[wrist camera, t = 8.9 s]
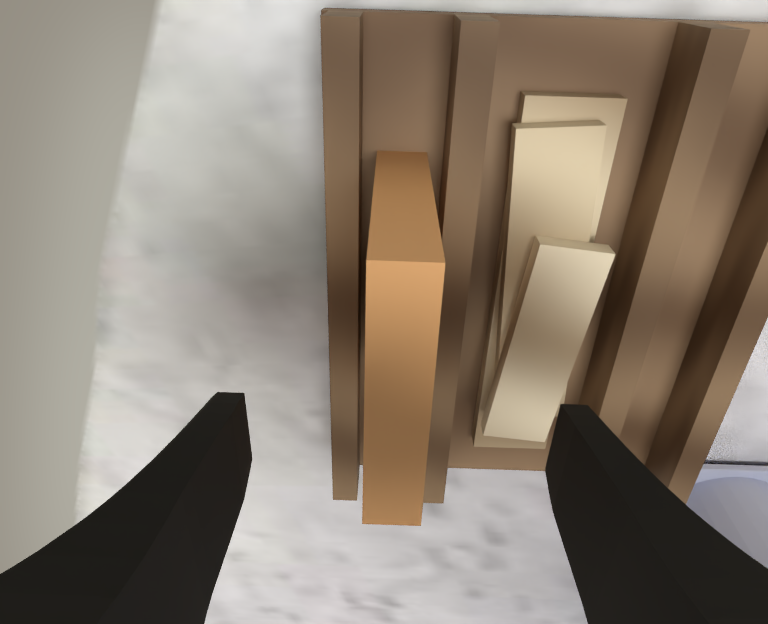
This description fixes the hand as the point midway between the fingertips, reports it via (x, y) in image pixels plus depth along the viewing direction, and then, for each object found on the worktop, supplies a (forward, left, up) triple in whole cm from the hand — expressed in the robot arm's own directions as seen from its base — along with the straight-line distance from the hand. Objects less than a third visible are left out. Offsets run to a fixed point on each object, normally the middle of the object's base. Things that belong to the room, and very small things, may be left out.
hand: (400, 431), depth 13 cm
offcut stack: (-1, -5, -9) cm, 10 cm away
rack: (-1, -5, -10) cm, 11 cm away
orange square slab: (0, 0, -9) cm, 9 cm away
